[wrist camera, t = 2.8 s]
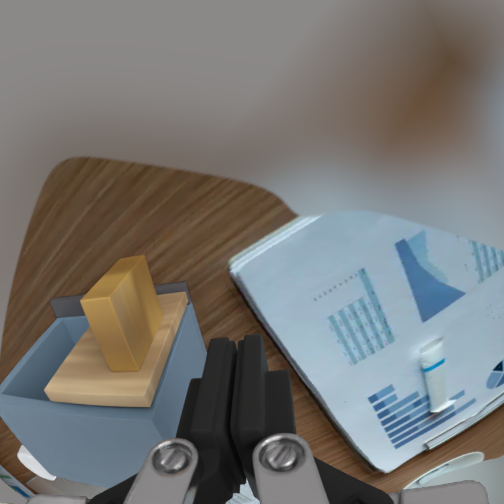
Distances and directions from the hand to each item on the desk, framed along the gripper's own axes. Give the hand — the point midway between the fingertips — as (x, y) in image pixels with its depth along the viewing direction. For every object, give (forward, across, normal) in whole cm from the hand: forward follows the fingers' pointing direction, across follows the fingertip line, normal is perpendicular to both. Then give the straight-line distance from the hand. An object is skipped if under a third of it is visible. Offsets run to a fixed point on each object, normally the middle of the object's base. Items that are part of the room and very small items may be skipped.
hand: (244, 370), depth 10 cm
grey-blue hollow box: (+11, +11, +7) cm, 17 cm away
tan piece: (+10, +8, 0) cm, 13 cm away
